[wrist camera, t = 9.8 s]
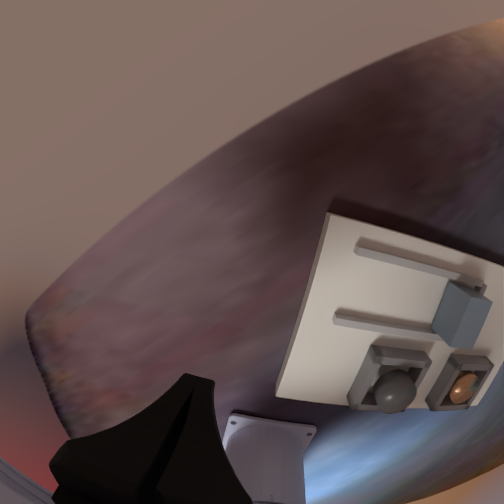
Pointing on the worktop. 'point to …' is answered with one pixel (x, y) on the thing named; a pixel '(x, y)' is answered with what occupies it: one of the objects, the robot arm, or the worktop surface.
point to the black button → (394, 391)
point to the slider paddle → (461, 316)
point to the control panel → (386, 319)
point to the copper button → (463, 386)
